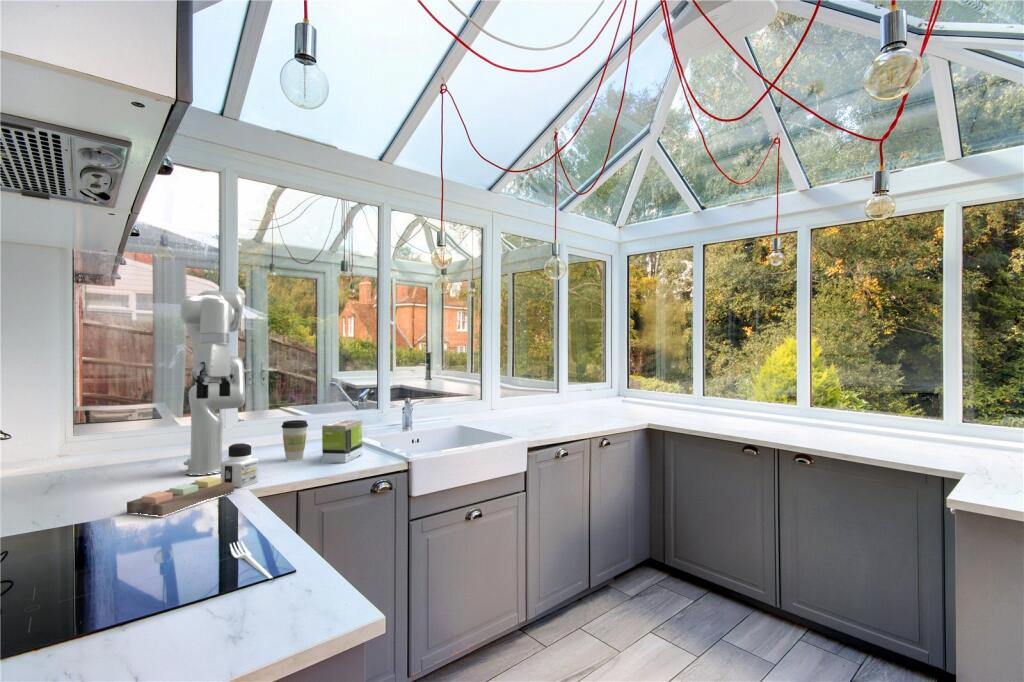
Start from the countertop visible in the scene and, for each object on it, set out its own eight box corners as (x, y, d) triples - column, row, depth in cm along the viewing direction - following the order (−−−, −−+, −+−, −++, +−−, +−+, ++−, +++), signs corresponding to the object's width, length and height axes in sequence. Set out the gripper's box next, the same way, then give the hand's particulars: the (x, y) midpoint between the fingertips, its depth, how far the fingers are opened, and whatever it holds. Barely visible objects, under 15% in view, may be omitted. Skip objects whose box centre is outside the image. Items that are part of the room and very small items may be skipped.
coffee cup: (301, 462, 190) (301, 423, 190) (276, 461, 190) (276, 423, 190) (311, 456, 200) (312, 420, 200) (287, 456, 200) (288, 419, 200)
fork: (262, 585, 92) (262, 575, 92) (227, 552, 105) (227, 543, 105) (280, 579, 94) (280, 569, 94) (243, 548, 108) (243, 539, 108)
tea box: (340, 454, 204) (340, 419, 205) (362, 455, 203) (363, 419, 203) (321, 462, 190) (321, 424, 190) (345, 463, 188) (346, 425, 188)
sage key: (169, 498, 137) (169, 488, 137) (184, 494, 142) (185, 483, 142) (183, 500, 136) (183, 489, 136) (198, 495, 141) (198, 485, 141)
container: (241, 488, 154) (241, 446, 154) (219, 486, 155) (220, 445, 155) (258, 481, 161) (259, 442, 161) (238, 480, 163) (238, 441, 163)
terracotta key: (141, 507, 129) (141, 496, 129) (158, 502, 134) (158, 491, 134) (155, 509, 128) (155, 497, 128) (172, 503, 133) (172, 492, 133)
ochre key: (194, 491, 145) (194, 480, 145) (208, 486, 150) (208, 477, 150) (207, 492, 144) (207, 482, 144) (221, 488, 148) (221, 478, 148)
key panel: (126, 513, 129) (126, 502, 129) (201, 489, 151) (202, 480, 152) (162, 517, 126) (162, 505, 126) (233, 492, 148) (233, 482, 148)
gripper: (222, 341, 155) (221, 395, 154) (181, 338, 138) (180, 399, 137) (244, 341, 155) (243, 395, 154) (206, 338, 138) (205, 399, 137)
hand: (213, 397), depth 146 cm, fingers open, 9 cm apart
